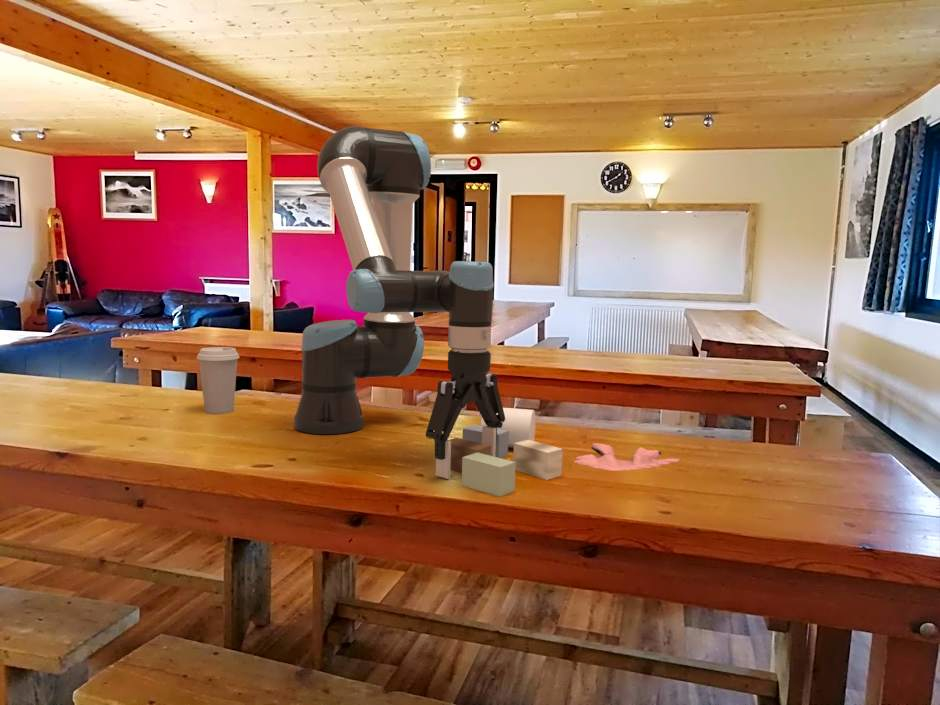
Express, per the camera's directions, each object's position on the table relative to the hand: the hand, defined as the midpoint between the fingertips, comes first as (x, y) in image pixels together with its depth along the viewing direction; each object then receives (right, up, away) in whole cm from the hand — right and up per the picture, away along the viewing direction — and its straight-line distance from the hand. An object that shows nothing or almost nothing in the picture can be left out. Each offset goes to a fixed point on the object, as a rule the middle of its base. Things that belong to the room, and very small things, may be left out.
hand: (466, 468), depth 122 cm
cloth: (+31, 0, +12) cm, 34 cm away
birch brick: (+13, -1, 0) cm, 13 cm away
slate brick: (+4, +1, +11) cm, 12 cm away
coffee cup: (-60, +7, +41) cm, 72 cm away
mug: (+9, +2, +19) cm, 21 cm away
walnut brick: (0, 0, 0) cm, 0 cm away
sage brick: (+4, -2, -9) cm, 10 cm away
